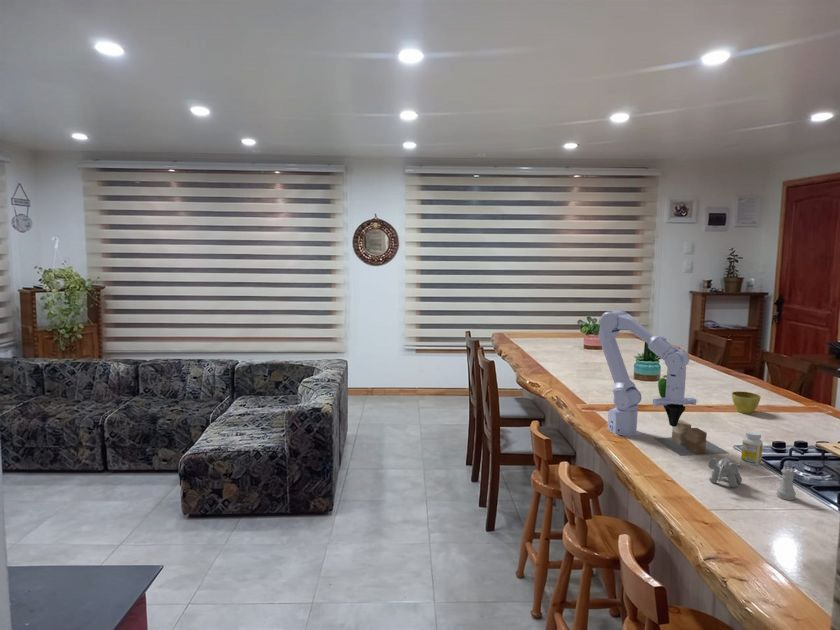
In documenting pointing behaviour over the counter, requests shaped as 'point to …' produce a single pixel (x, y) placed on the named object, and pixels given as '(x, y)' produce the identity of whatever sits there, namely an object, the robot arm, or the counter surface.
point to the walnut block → (696, 440)
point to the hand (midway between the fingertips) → (672, 425)
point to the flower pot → (745, 401)
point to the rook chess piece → (787, 485)
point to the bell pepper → (662, 386)
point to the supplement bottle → (752, 448)
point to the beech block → (680, 432)
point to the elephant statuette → (725, 471)
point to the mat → (684, 452)
